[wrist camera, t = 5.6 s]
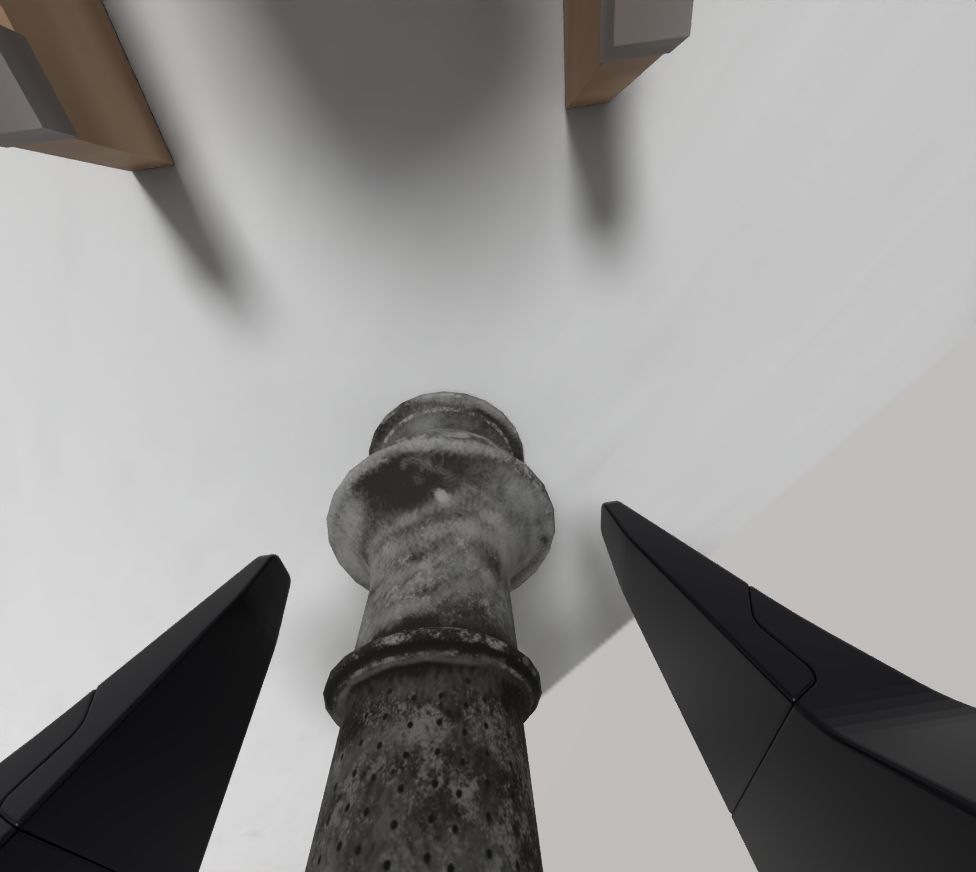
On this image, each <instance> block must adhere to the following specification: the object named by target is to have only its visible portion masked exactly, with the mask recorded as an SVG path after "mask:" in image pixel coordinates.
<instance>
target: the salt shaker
mask: <svg viewBox="0 0 976 872" xmlns="http://www.w3.org/2000/svg"><path fill="white" fill-rule="evenodd" d="M327 527H328V538H329V543H330V545H331V547H332V550H333V552H334V554H335V556H336V558H337V560H338V562H339V564H340V565H341V566H342V567H343V568H344V569H345V571H346V572H347V573H348V574H349V575H350V576H351V577H352V578H353V579H354V581H355V582H357V583H358V584H360V585H361V586H363V587H364V588H366V589H367V590H369V595H368V599H367V603H366V607H365V611H364V615H363V619H362V623H361V627H360V631H359V634H358V638H357V642H356V646H355V650H354V651H353V652H351V653H350V654H348V655H346V656H345V657H344V658H343V659H342V660H341V661H340V662H339V663H338V664H337V665H336V666H335V667H334V669H333V670H332V671H331V672H330V675H329V678H328V680H327V683H326V686H325V689H324V692H323V695H324V701H325V708H326V710H327V712H328V713H329V714H330V716H331V717H332V719H333V720H334V722H335V723H336V724H337V725H338V726H339V727H340V730H339V734H338V738H337V742H336V747H335V751H334V755H333V759H332V763H331V767H330V771H329V775H328V779H327V784H326V788H325V792H324V796H323V800H322V804H321V808H320V812H319V816H318V821H317V825H316V829H315V833H314V837H313V841H312V845H311V849H310V853H309V858H308V862H307V866H306V870H305V872H543V867H542V860H541V852H540V845H539V837H538V830H537V823H536V815H535V807H534V800H533V792H532V785H531V777H530V769H529V762H528V754H527V747H526V739H525V732H524V724H523V723H524V722H525V721H526V720H527V719H528V717H529V716H530V715H531V714H532V713H533V712H534V710H535V709H536V708H537V705H538V702H539V699H540V697H541V694H542V691H541V684H540V677H539V672H538V671H537V669H536V668H535V666H534V665H533V663H532V662H531V660H530V659H529V658H528V657H527V656H525V655H524V654H523V653H521V652H520V651H518V649H517V642H516V635H515V628H514V621H513V614H512V607H511V600H510V592H511V591H512V590H514V589H516V588H518V587H519V586H520V585H521V584H522V583H523V582H525V581H526V580H527V579H528V578H529V577H530V576H531V575H532V574H534V573H535V572H536V571H537V569H538V568H539V566H540V565H541V563H542V561H543V560H544V558H545V557H546V555H547V554H548V552H549V550H550V546H551V543H552V539H553V536H554V532H555V523H554V508H553V505H552V503H551V501H550V498H549V496H548V493H547V491H546V489H545V486H544V484H543V483H542V482H541V481H540V480H539V478H538V477H537V476H536V475H535V474H534V473H533V472H532V470H531V469H530V468H529V467H528V466H527V465H526V464H525V463H524V459H523V448H522V443H521V441H520V438H519V436H518V434H517V431H516V429H515V427H514V426H513V424H512V423H511V422H510V421H509V420H508V418H507V417H506V416H505V415H504V414H503V412H501V411H500V410H498V409H497V408H495V407H494V406H492V405H491V404H489V403H488V402H486V401H484V400H482V399H479V398H476V397H473V396H470V395H468V394H463V393H453V392H437V393H431V394H424V395H420V396H418V397H415V398H413V399H411V400H408V401H406V402H403V403H401V404H400V405H399V406H398V407H396V408H395V409H394V410H393V411H391V412H390V413H389V414H388V415H386V416H385V418H384V419H383V421H382V422H381V424H380V425H379V426H378V428H377V429H376V431H375V433H374V436H373V439H372V443H371V446H370V449H369V457H367V458H366V459H365V460H363V461H362V462H361V463H360V464H358V465H357V466H356V467H354V468H353V469H352V470H350V471H349V473H348V474H347V476H346V477H345V478H344V480H343V481H342V483H341V484H340V485H339V487H338V488H337V490H336V491H335V493H334V495H333V498H332V501H331V505H330V509H329V512H328V516H327Z"/></svg>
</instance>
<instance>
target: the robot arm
mask: <svg viewBox="0 0 976 872" xmlns="http://www.w3.org/2000/svg"><path fill="white" fill-rule="evenodd" d="M601 532H602V536H603V539H604V542H605V545H606V547H607V550H608V553H609V556H610V559H611V561H612V564H613V567H614V570H615V573H616V576H617V578H618V581H619V584H620V586H621V589H622V591H623V594H624V596H625V598H626V600H627V602H628V604H629V606H630V608H631V611H632V613H633V615H634V617H635V619H636V621H637V623H638V625H639V627H640V629H641V631H642V633H643V635H644V637H645V639H646V641H647V643H648V645H649V648H650V649H651V651H652V653H653V656H654V658H655V660H656V662H657V664H658V666H659V668H660V670H661V672H662V674H663V676H664V678H665V680H666V682H667V684H668V687H669V689H670V690H671V693H672V695H673V697H674V699H675V701H676V703H677V705H678V707H679V709H680V711H681V713H682V715H683V717H684V719H685V721H686V724H687V725H688V728H689V729H690V732H691V734H692V736H693V738H694V740H695V742H696V744H697V746H698V748H699V750H700V752H701V754H702V756H703V758H704V761H705V763H706V765H707V767H708V769H709V771H710V773H711V775H712V777H713V779H714V781H715V783H716V785H717V787H718V789H719V791H720V793H721V795H722V798H723V799H724V801H725V804H726V806H727V808H728V810H729V812H730V813H731V814H732V819H733V821H734V823H735V825H736V827H737V829H738V831H739V833H740V835H741V837H742V839H743V841H744V843H745V845H746V847H747V849H748V851H749V853H750V856H751V858H752V860H753V862H754V864H755V866H756V868H757V870H758V872H976V708H975V707H972V706H969V705H967V704H964V703H962V702H959V701H956V700H954V699H952V698H950V697H948V696H945V695H943V694H941V693H939V692H937V691H934V690H933V689H930V688H929V687H927V686H925V685H923V684H921V683H919V682H917V681H915V680H914V679H912V678H910V677H908V676H906V675H904V674H903V673H901V672H899V671H897V670H895V669H894V668H892V667H890V666H888V665H886V664H884V663H883V662H881V661H879V660H877V659H876V658H874V657H872V656H870V655H868V654H866V653H865V652H863V651H861V650H859V649H857V648H856V647H854V646H852V645H850V644H848V643H846V642H845V641H843V640H841V639H839V638H838V637H836V636H834V635H832V634H830V633H828V632H827V631H825V630H823V629H822V628H820V627H818V626H816V625H815V624H813V623H811V622H809V621H808V620H806V619H804V618H802V617H800V616H799V615H797V614H796V613H794V612H792V611H791V610H789V609H787V608H786V607H784V606H783V605H781V604H779V603H778V602H776V601H774V600H773V599H771V598H769V597H768V596H766V595H765V594H763V593H762V592H760V591H759V590H757V589H755V588H754V587H752V586H750V587H749V586H748V584H747V583H746V582H744V581H743V580H741V579H740V578H738V577H736V576H735V575H733V574H732V573H730V572H729V571H727V570H726V569H724V568H723V567H721V566H719V565H718V564H716V563H715V562H713V561H711V560H710V559H708V558H707V557H705V556H704V555H702V554H701V553H699V552H698V551H696V550H694V549H693V548H691V547H690V546H688V545H687V544H685V543H683V542H682V541H680V540H679V539H677V538H676V537H674V536H673V535H671V534H669V533H668V532H666V531H665V530H663V529H662V528H660V527H659V526H657V525H655V524H654V523H652V522H651V521H649V520H648V519H646V518H644V517H643V516H641V515H640V514H638V513H637V512H635V511H634V510H632V509H630V508H629V507H627V506H626V505H624V504H623V503H621V502H619V501H612V502H606V503H603V504H602V507H601ZM290 583H291V580H290V575H289V573H288V571H287V570H286V568H285V566H284V565H283V563H282V561H281V559H280V558H279V556H277V555H276V554H271V555H264V556H260V557H257V558H256V559H255V560H253V561H252V562H251V563H250V564H249V565H247V566H246V567H245V568H244V569H242V570H241V571H240V572H239V573H237V574H236V575H235V576H234V577H232V578H231V579H230V580H229V581H227V582H226V583H225V584H224V585H223V586H221V587H220V588H219V589H218V590H216V591H215V592H214V593H213V594H211V595H210V596H209V597H208V598H206V599H205V600H204V601H203V602H201V603H200V604H199V605H198V606H197V607H195V608H194V609H193V610H192V611H190V612H189V613H188V614H187V615H185V616H184V617H183V618H182V619H180V620H179V621H178V622H177V623H175V624H174V625H173V626H172V627H171V628H169V629H168V630H167V631H166V632H164V633H163V634H162V635H161V636H159V637H158V638H157V639H156V640H154V641H153V642H152V643H151V644H149V645H148V646H147V647H146V648H145V649H143V650H142V651H141V652H140V653H138V654H137V655H136V656H135V657H133V658H132V659H131V660H130V661H128V662H127V663H126V664H125V665H123V666H122V667H121V668H120V669H118V670H117V671H116V672H115V673H114V674H112V675H111V676H110V677H109V678H107V679H106V680H105V681H104V682H102V683H101V684H100V685H99V686H98V687H97V689H96V690H92V691H91V692H90V693H89V694H87V695H86V696H85V697H84V698H82V699H81V700H80V701H79V702H78V703H76V704H75V705H74V706H73V707H71V708H70V709H69V710H68V711H66V712H65V713H64V714H63V715H61V716H60V717H59V718H58V719H56V720H55V721H54V722H52V723H51V724H50V725H49V726H47V727H46V728H45V729H44V730H42V731H41V732H40V733H39V734H37V735H36V736H35V737H33V738H32V739H31V740H29V741H28V742H27V743H25V744H24V745H23V746H22V747H20V748H19V749H18V750H16V751H15V752H14V753H12V754H11V755H10V756H8V757H7V758H6V759H4V760H3V761H2V762H0V872H199V869H200V866H201V863H202V860H203V857H204V854H205V851H206V848H207V846H208V843H209V840H210V837H211V834H212V831H213V828H214V825H215V822H216V819H217V816H218V813H219V810H220V808H221V805H222V802H223V799H224V796H225V793H226V790H227V787H228V784H229V781H230V778H231V775H232V772H233V770H234V767H235V764H236V761H237V758H238V755H239V752H240V749H241V746H242V743H243V740H244V737H245V735H246V732H247V729H248V726H249V723H250V720H251V717H252V714H253V711H254V708H255V705H256V702H257V699H258V697H259V694H260V691H261V688H262V685H263V682H264V679H265V676H266V673H267V670H268V667H269V664H270V661H271V659H272V656H273V652H274V649H275V646H276V643H277V639H278V635H279V631H280V627H281V623H282V618H283V614H284V610H285V606H286V601H287V597H288V593H289V588H290Z"/></svg>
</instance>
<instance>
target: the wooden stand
mask: <svg viewBox="0 0 976 872" xmlns="http://www.w3.org/2000/svg"><path fill="white" fill-rule="evenodd" d="M692 9H693V0H564V48H565V103H566V108H573V107H580V106H587V105H594V104H600V103H607V102H609V101H611V100H612V99H613V98H614V97H615V96H616V95H617V94H619V93H620V92H621V91H622V90H623V89H624V88H625V87H627V86H628V85H629V84H630V83H631V82H632V81H633V80H634V79H636V78H637V77H638V76H639V75H640V74H641V73H642V72H644V71H645V70H646V69H647V68H648V67H649V66H650V65H652V64H653V63H654V62H655V61H656V60H657V59H658V58H660V57H661V56H662V55H663V54H666V53H670V52H671V51H672V50H674V49H675V48H676V47H677V46H678V45H679V44H681V43H682V42H683V41H684V40H685V39H686V38H688V37H689V36H690V29H691V19H692ZM0 146H1V147H6V148H7V147H16V148H21V149H26V150H31V151H35V152H40V153H45V154H50V155H55V156H59V157H64V158H69V159H74V160H79V161H83V162H88V163H93V164H98V165H103V166H107V167H112V168H117V169H122V170H127V171H135V170H142V169H149V168H156V167H163V166H170V165H174V163H173V161H172V159H171V157H170V154H169V152H168V150H167V148H166V145H165V143H164V141H163V139H162V136H161V134H160V132H159V130H158V127H157V125H156V123H155V121H154V118H153V116H152V114H151V112H150V109H149V107H148V105H147V103H146V100H145V98H144V96H143V94H142V91H141V89H140V87H139V85H138V82H137V80H136V78H135V76H134V74H133V71H132V69H131V67H130V65H129V62H128V60H127V58H126V56H125V53H124V51H123V49H122V47H121V44H120V42H119V40H118V38H117V35H116V33H115V31H114V29H113V26H112V24H111V22H110V20H109V17H108V15H107V13H106V11H105V8H104V6H103V4H102V2H101V0H0Z"/></svg>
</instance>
